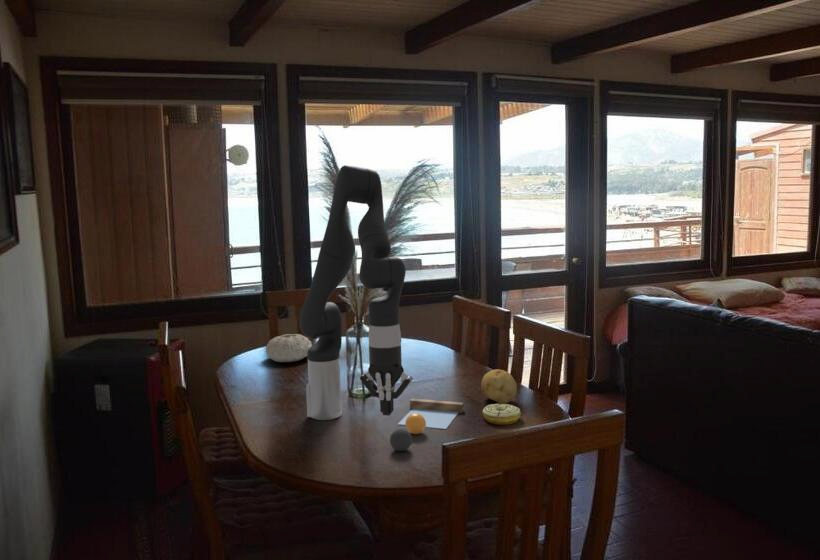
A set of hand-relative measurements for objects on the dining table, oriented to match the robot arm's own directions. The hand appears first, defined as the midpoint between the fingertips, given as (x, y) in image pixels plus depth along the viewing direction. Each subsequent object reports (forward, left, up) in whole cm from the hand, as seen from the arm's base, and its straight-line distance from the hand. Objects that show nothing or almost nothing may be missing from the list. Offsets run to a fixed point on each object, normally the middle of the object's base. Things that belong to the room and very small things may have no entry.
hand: (387, 414), depth 158 cm
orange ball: (0, +21, -10) cm, 24 cm away
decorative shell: (-72, +83, -13) cm, 111 cm away
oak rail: (0, +41, -13) cm, 43 cm away
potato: (+16, +53, -13) cm, 57 cm away
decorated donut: (+20, +38, -13) cm, 45 cm away
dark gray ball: (0, +9, -10) cm, 14 cm away
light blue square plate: (0, +33, -13) cm, 36 cm away
